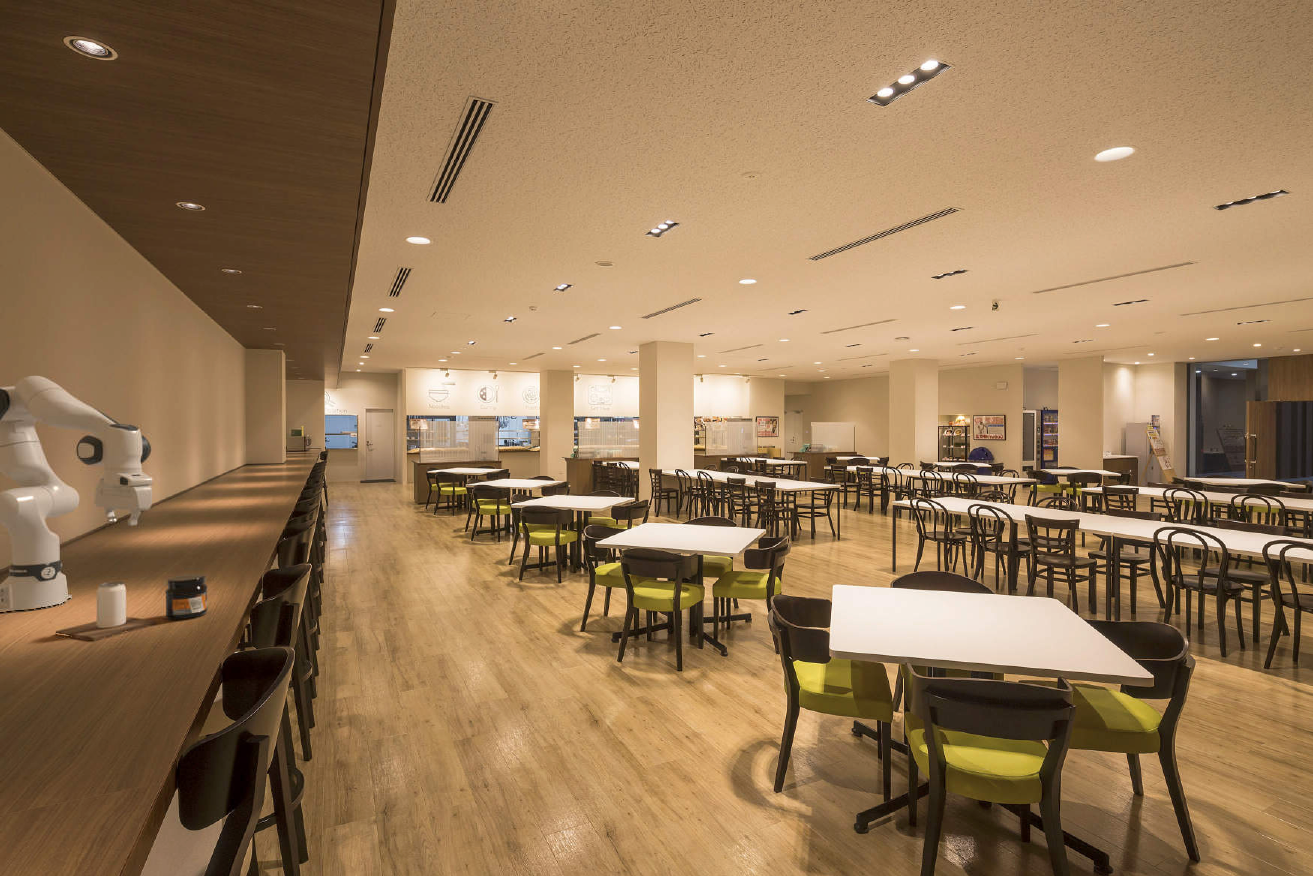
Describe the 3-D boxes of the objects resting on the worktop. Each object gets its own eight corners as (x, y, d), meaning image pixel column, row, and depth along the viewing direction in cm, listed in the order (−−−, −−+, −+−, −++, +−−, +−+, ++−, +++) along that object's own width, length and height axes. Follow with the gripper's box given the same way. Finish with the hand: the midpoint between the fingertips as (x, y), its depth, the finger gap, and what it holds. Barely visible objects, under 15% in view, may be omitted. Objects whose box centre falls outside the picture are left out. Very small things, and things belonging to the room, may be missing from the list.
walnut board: (55, 634, 179) (55, 631, 179) (119, 618, 194) (119, 615, 194) (93, 641, 174) (93, 637, 174) (156, 624, 189) (156, 620, 189)
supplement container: (202, 619, 195) (201, 579, 195) (160, 622, 191) (159, 582, 191) (211, 609, 205) (211, 572, 204) (172, 613, 201) (171, 575, 200)
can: (131, 623, 187) (131, 582, 187) (109, 629, 181) (109, 587, 181) (113, 621, 188) (113, 581, 188) (90, 628, 182) (90, 586, 182)
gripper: (88, 476, 192) (87, 522, 193) (133, 480, 186) (132, 528, 186) (112, 475, 198) (111, 519, 199) (157, 479, 192) (155, 525, 192)
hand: (121, 523), depth 192 cm, fingers open, 8 cm apart
